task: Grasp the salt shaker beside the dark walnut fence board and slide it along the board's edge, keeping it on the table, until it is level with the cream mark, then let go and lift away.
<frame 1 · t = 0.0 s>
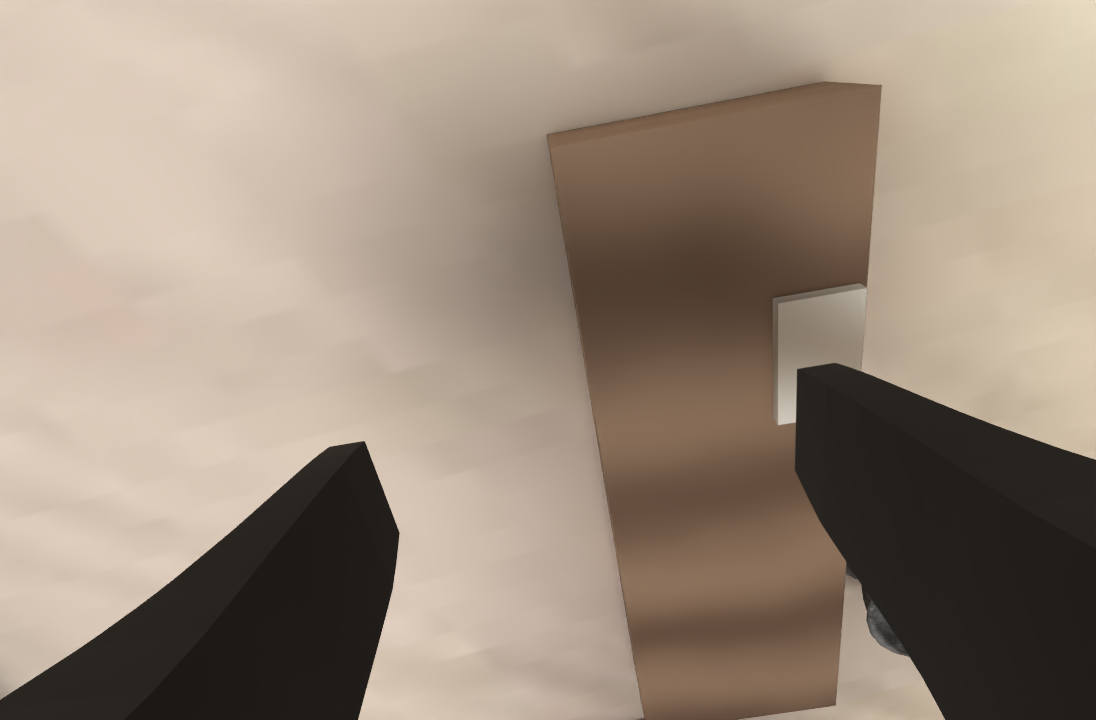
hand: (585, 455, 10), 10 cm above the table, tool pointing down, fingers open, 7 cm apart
walnut fence board: (706, 447, 22), on the table
salt shaker: (892, 530, 25), on the table
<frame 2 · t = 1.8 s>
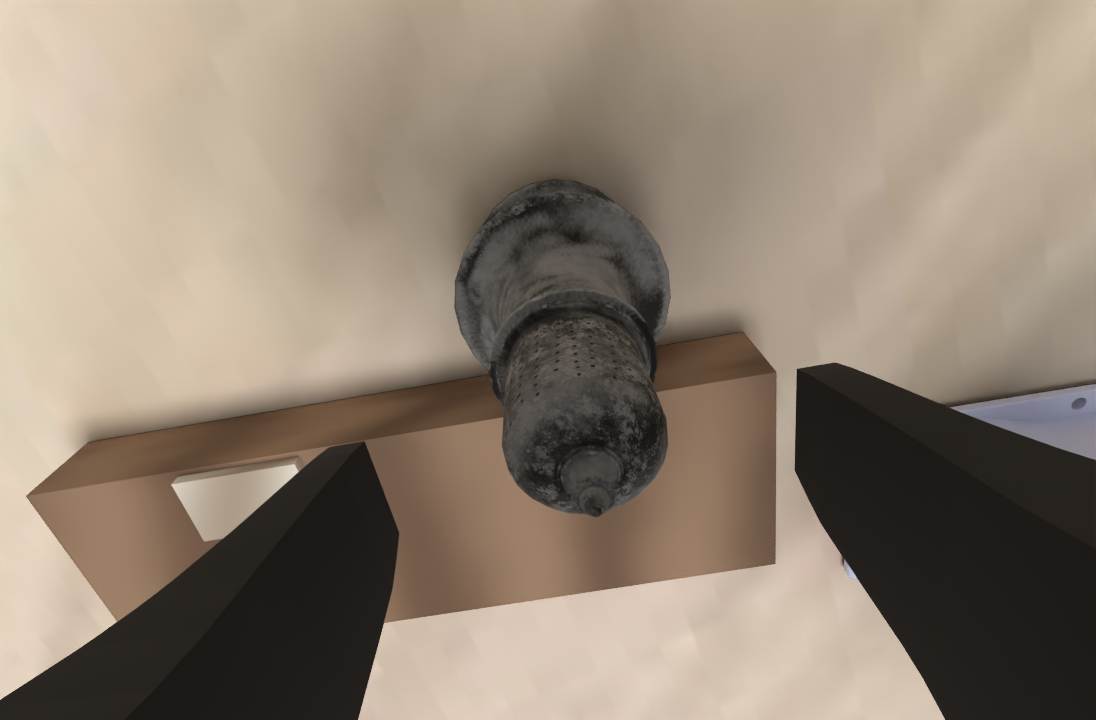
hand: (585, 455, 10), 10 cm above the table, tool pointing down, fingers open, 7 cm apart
walnut fence board: (435, 477, 23), on the table
salt shaker: (556, 261, 19), on the table
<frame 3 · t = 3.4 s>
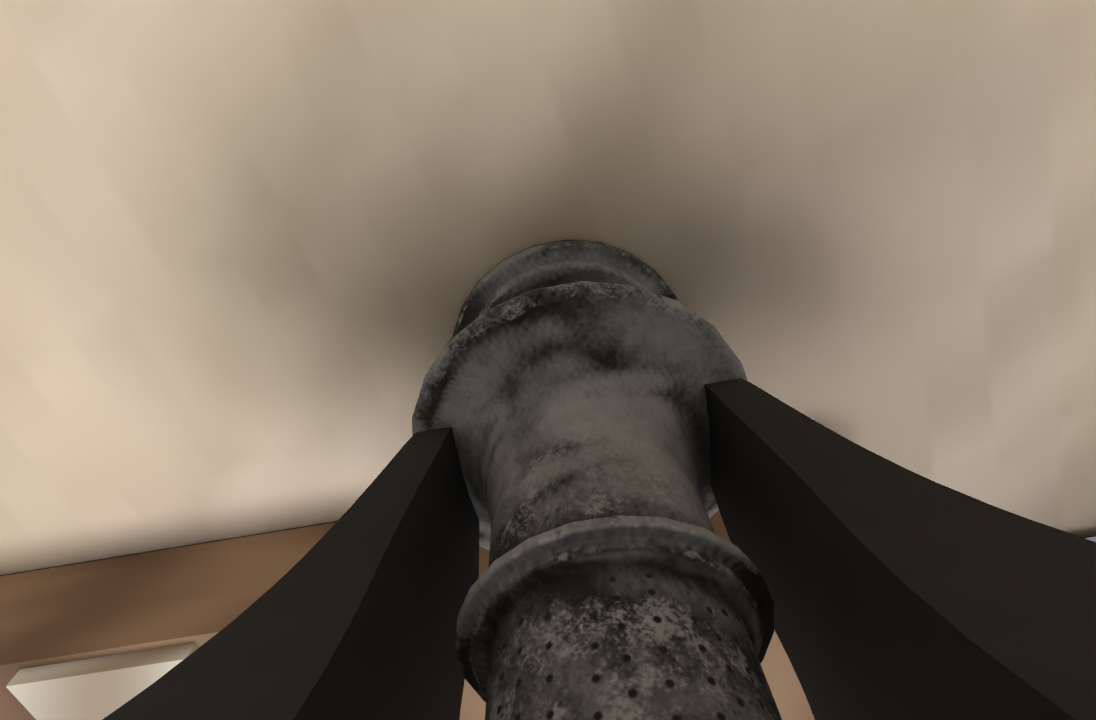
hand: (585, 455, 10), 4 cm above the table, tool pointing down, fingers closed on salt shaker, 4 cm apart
walnut fence board: (405, 623, 17), on the table
salt shaker: (569, 351, 13), on the table, touching gripper
when the fingers open (4 cm above the table, at t = 4.2 s): salt shaker moves 7 cm, on the table.
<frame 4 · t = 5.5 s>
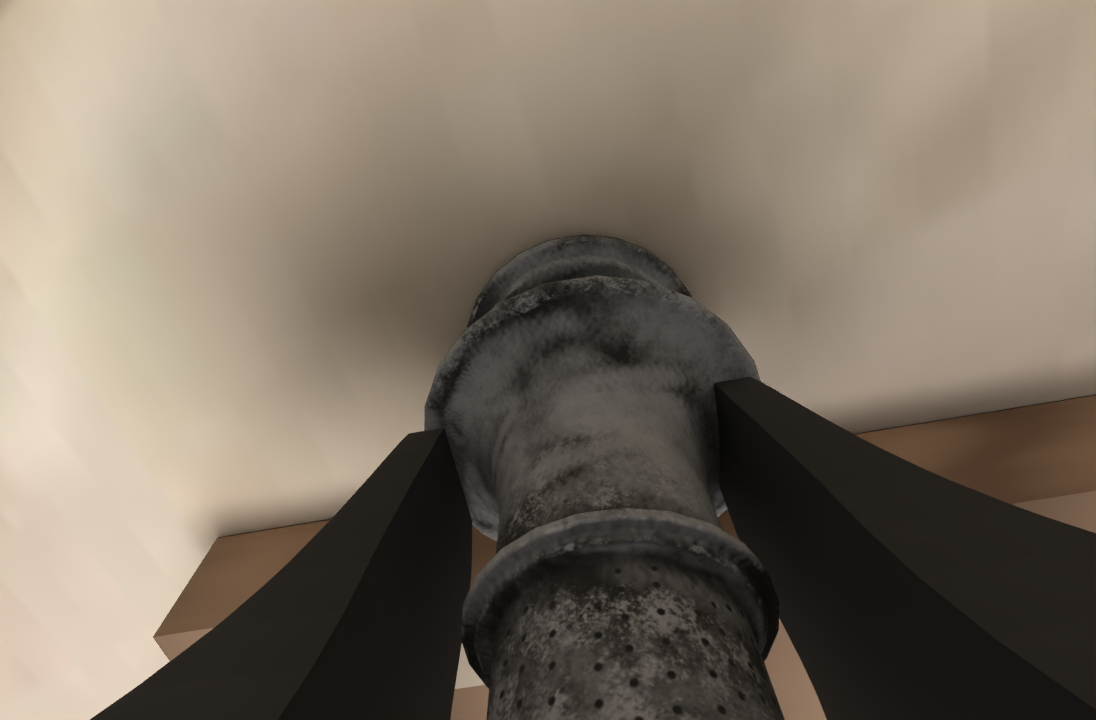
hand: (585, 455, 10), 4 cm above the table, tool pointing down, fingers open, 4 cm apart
walnut fence board: (681, 576, 17), on the table
salt shaker: (582, 346, 13), on the table, touching gripper
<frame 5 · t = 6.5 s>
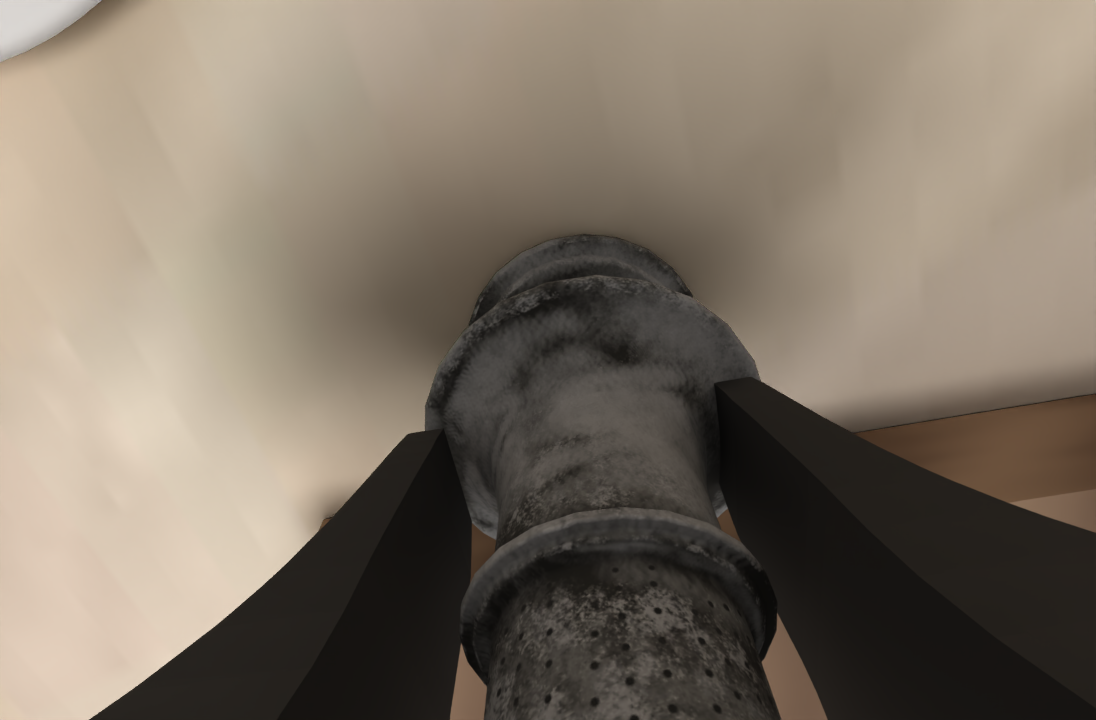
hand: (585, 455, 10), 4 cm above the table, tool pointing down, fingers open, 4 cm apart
walnut fence board: (783, 559, 17), on the table
salt shaker: (583, 345, 14), on the table, touching gripper
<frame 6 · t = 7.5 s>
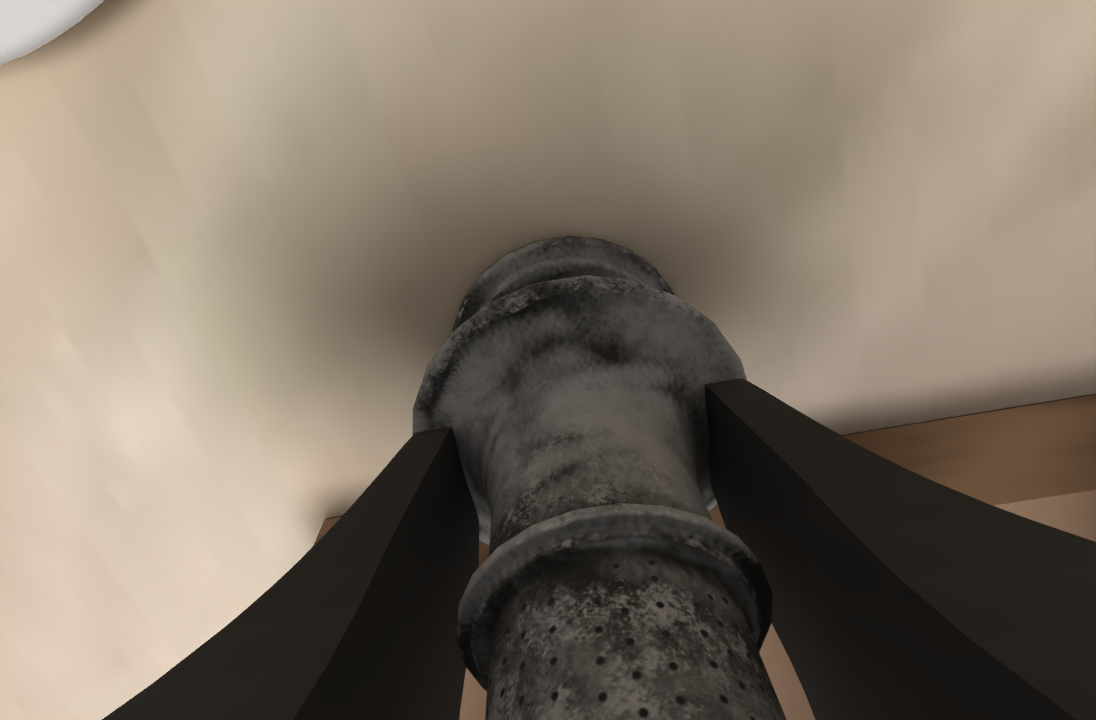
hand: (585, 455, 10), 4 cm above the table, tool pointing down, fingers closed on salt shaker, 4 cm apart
walnut fence board: (785, 560, 17), on the table
salt shaker: (568, 347, 14), on the table, touching gripper
when the fingers open (4 cm above the table, at t = 7.5 s): salt shaker stays where it is, on the table.
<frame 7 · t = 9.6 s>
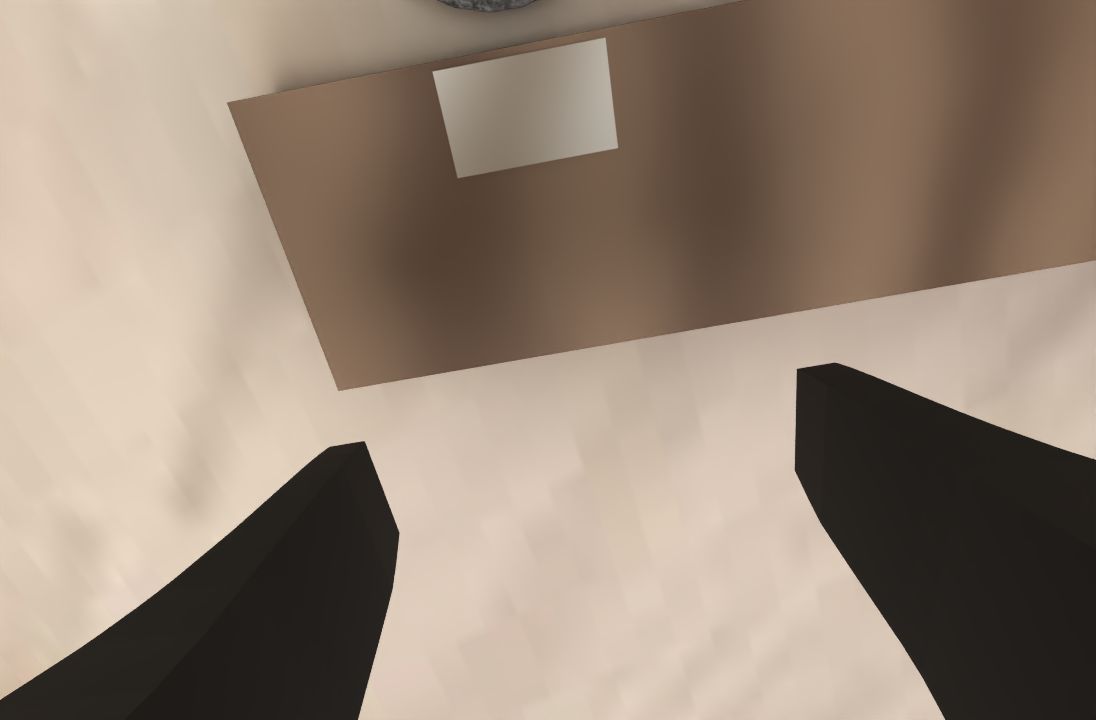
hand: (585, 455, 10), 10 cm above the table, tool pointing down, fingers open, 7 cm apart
walnut fence board: (705, 163, 18), on the table
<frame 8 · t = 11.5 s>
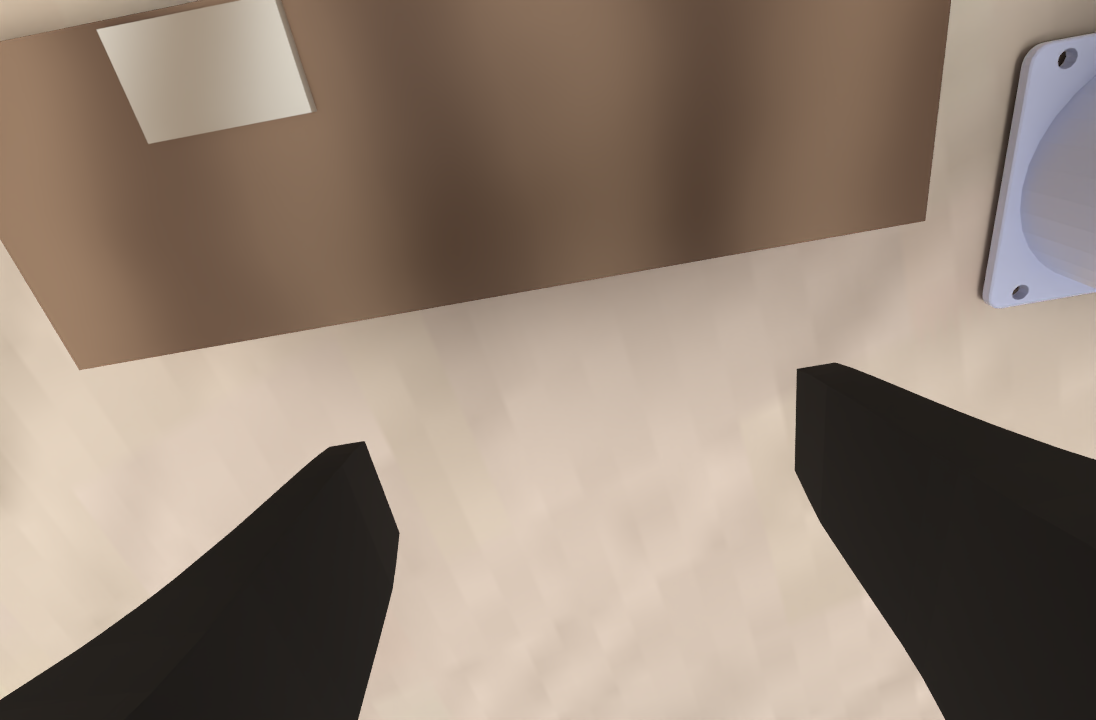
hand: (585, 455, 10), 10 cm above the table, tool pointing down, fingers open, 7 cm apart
walnut fence board: (464, 135, 17), on the table
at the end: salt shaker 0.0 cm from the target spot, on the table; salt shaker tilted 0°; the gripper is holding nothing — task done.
